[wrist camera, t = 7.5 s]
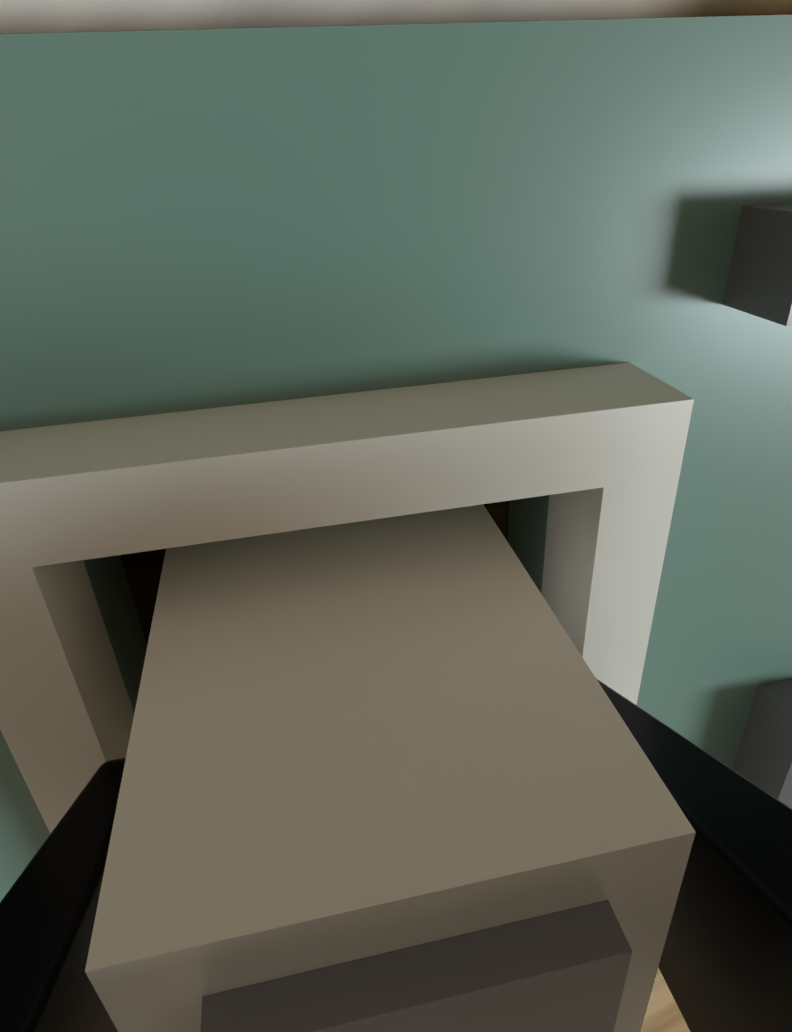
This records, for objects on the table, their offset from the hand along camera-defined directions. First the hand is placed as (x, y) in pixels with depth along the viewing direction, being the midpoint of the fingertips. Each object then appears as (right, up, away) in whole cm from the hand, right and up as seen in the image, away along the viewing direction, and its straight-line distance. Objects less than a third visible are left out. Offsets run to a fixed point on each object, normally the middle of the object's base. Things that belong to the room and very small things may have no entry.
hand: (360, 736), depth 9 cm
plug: (-1, +2, +3) cm, 3 cm away
